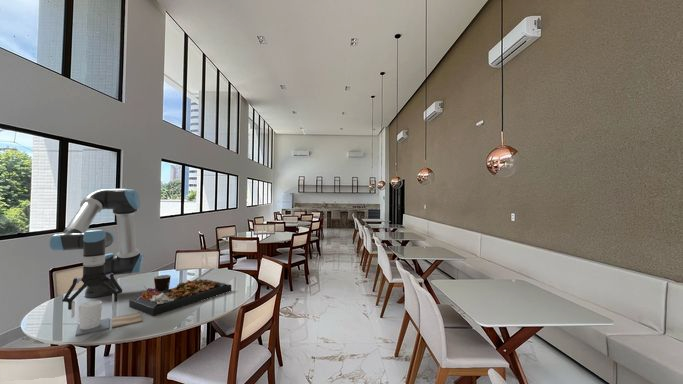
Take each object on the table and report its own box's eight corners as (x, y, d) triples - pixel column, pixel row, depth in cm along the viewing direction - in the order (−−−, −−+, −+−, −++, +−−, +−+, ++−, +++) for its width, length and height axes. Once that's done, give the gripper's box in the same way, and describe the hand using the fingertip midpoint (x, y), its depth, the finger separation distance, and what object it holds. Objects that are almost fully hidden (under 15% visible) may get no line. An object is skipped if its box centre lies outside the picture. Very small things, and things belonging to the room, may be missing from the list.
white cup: (87, 323, 133) (87, 301, 133) (106, 322, 134) (106, 300, 134) (73, 331, 125) (73, 307, 125) (93, 330, 126) (93, 306, 126)
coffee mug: (162, 296, 171) (162, 279, 172) (150, 295, 173) (150, 278, 173) (177, 290, 183) (177, 273, 183) (165, 289, 184) (165, 273, 185)
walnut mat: (112, 318, 139) (112, 317, 139) (140, 313, 146) (140, 311, 146) (112, 328, 129) (112, 326, 129) (142, 321, 136) (142, 320, 136)
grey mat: (78, 325, 132) (78, 324, 132) (109, 319, 139) (109, 318, 139) (75, 336, 122) (75, 334, 122) (109, 328, 128) (109, 327, 128)
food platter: (153, 317, 142) (153, 296, 142) (129, 308, 155) (129, 288, 155) (231, 291, 180) (231, 275, 181) (206, 285, 193) (206, 270, 193)
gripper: (54, 270, 120) (53, 323, 120) (129, 262, 135) (128, 308, 135) (56, 267, 126) (56, 317, 126) (128, 259, 141) (127, 303, 141)
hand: (93, 312), depth 130 cm, fingers open, 13 cm apart
